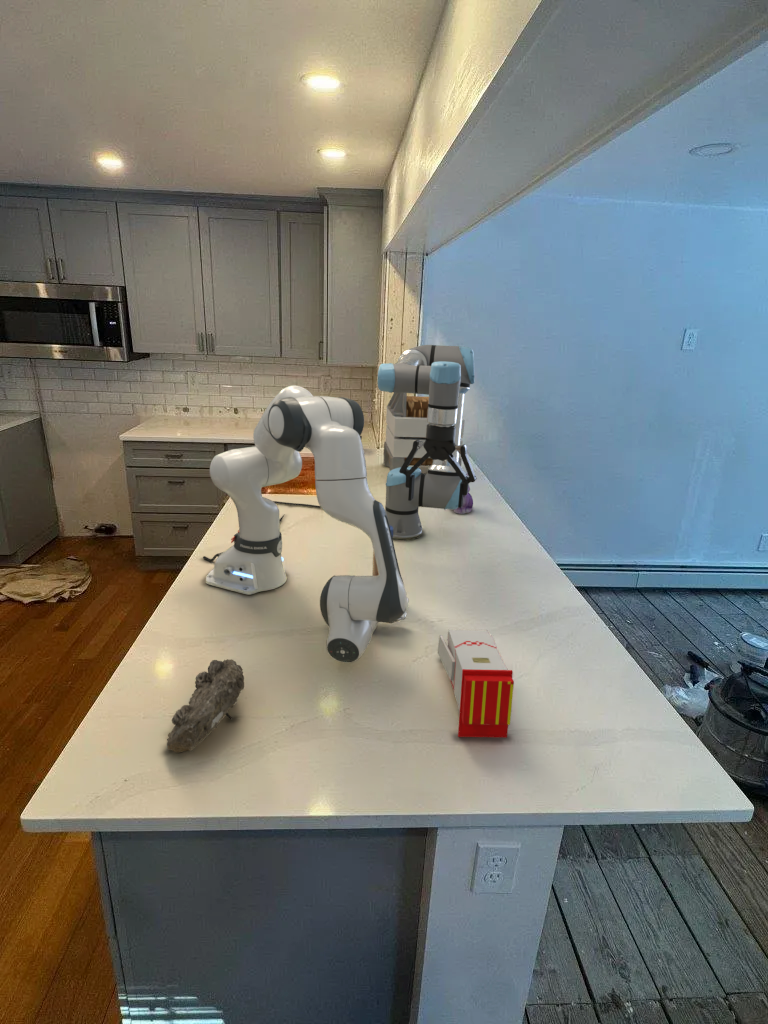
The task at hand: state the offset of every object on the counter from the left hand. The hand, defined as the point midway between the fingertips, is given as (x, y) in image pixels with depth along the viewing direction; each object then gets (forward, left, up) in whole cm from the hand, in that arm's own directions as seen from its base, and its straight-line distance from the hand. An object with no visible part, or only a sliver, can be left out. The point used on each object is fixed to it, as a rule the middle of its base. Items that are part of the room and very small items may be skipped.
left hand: (373, 588), depth 147 cm
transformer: (-8, +135, -6) cm, 135 cm away
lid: (0, +8, +14) cm, 16 cm away
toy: (+27, -28, -6) cm, 39 cm away
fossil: (-21, -48, -6) cm, 53 cm away
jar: (0, +8, -6) cm, 10 cm away
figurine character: (-48, +167, -6) cm, 174 cm away
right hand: (+13, +16, +20) cm, 28 cm away
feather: (-47, +56, -6) cm, 74 cm away
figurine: (+17, +87, -6) cm, 89 cm away
